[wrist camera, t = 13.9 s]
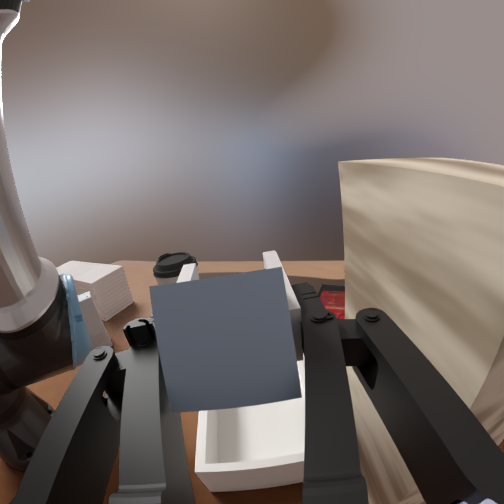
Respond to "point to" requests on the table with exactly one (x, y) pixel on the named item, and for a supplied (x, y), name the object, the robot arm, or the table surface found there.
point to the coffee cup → (171, 267)
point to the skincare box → (93, 321)
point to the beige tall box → (427, 288)
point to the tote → (252, 444)
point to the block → (226, 341)
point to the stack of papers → (100, 285)
